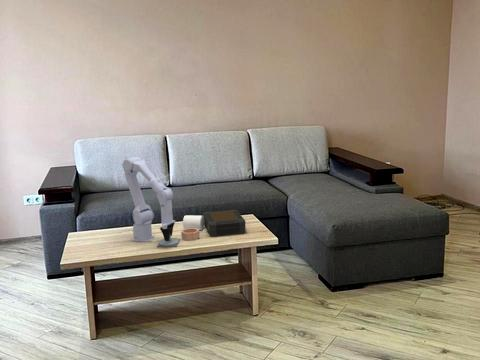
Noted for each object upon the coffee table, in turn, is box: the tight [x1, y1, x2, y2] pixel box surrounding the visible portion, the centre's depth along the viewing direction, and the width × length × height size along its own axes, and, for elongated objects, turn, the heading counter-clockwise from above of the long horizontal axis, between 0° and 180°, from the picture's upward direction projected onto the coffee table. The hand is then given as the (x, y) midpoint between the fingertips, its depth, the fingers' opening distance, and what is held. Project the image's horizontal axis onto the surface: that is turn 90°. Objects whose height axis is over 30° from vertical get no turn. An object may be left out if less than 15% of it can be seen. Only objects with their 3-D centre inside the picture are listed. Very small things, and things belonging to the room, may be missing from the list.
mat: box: [156, 238, 181, 248], centre depth 257 cm, size 10×10×1 cm
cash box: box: [202, 209, 247, 238], centre depth 278 cm, size 25×20×8 cm
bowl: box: [180, 228, 200, 242], centre depth 265 cm, size 9×9×4 cm
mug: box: [182, 214, 205, 231], centre depth 281 cm, size 12×10×8 cm
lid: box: [158, 234, 180, 246], centre depth 256 cm, size 10×10×4 cm
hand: (168, 238), depth 256 cm, fingers open, 7 cm apart
